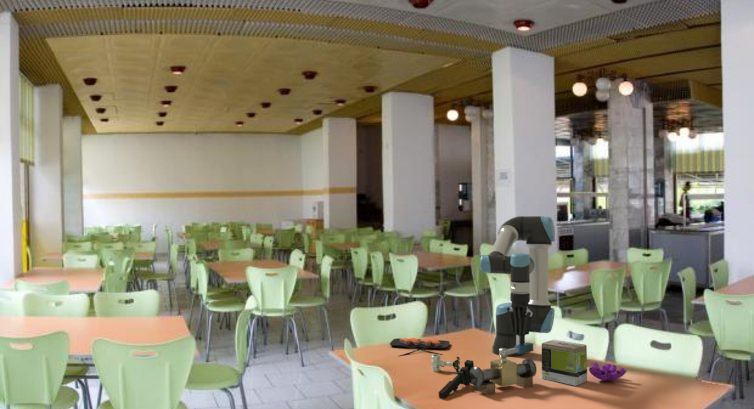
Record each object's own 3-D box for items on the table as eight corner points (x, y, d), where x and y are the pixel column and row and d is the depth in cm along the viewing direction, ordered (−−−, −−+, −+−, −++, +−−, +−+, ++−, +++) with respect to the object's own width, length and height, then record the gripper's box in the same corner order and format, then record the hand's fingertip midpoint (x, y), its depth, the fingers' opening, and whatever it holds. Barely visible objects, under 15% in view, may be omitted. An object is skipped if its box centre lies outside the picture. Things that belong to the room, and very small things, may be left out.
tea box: (587, 381, 238) (587, 344, 237) (575, 387, 231) (575, 348, 230) (553, 373, 248) (553, 338, 248) (540, 378, 241) (540, 342, 241)
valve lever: (503, 358, 228) (503, 350, 228) (497, 356, 230) (497, 348, 230) (533, 351, 238) (533, 343, 238) (527, 349, 240) (527, 342, 240)
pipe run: (523, 380, 239) (523, 350, 239) (537, 385, 232) (537, 355, 232) (468, 389, 228) (468, 359, 227) (481, 395, 220) (481, 364, 220)
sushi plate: (450, 344, 301) (450, 336, 301) (443, 360, 272) (443, 351, 272) (394, 341, 307) (394, 334, 307) (381, 356, 278) (381, 348, 278)
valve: (429, 372, 251) (458, 374, 248) (429, 356, 251) (457, 358, 248) (432, 368, 257) (460, 370, 254) (432, 353, 257) (460, 354, 254)
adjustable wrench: (439, 410, 220) (469, 379, 240) (446, 411, 218) (475, 380, 238) (437, 389, 218) (467, 359, 238) (443, 390, 217) (473, 360, 237)
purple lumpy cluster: (614, 384, 243) (629, 368, 240) (605, 394, 231) (621, 377, 228) (591, 364, 248) (606, 348, 245) (582, 373, 236) (597, 356, 233)
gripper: (501, 290, 242) (501, 348, 242) (525, 295, 231) (525, 356, 231) (515, 289, 246) (515, 346, 246) (539, 293, 235) (538, 353, 235)
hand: (520, 351), depth 239 cm, fingers closed
